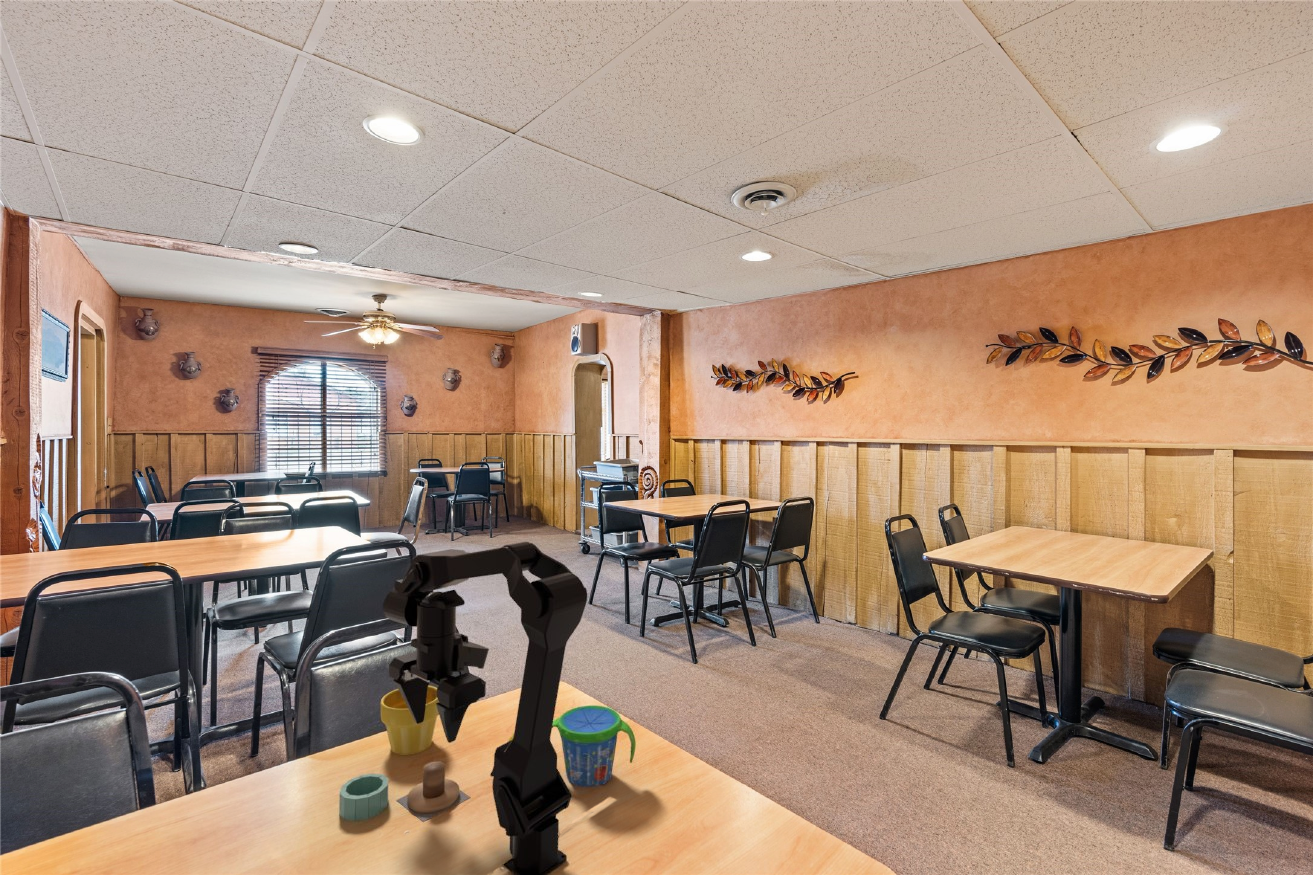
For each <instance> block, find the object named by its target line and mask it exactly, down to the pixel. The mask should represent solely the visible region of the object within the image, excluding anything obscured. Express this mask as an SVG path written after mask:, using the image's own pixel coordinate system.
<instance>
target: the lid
mask: <svg viewBox="0 0 1313 875" xmlns="http://www.w3.org/2000/svg"><path fill="white" fill-rule="evenodd" d="M459 790H460V786H459V784H458V783H457V782H456V781H454V780H452V779H450V778H449V779H448V778H446V764H445V762H443V761H439V760H437V761H430V762H428V763H426V764H425V765H424V766H423V768H422V782H421V783H419V784H417V785H415V786H414V787H412V789H411V788H410V791H409V792H408V794H407V795H408V797H407V805H408V808H409V809H410V810H411V811H413V812H416V813H420V814H431V813H436V812H440V811H443V810H445V809H447V808H449V807H451V806H452V805H453V804H454V803H455V802H456V801H457V800H458V798H459Z"/></svg>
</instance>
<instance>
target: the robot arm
mask: <svg viewBox="0 0 1313 875" xmlns="http://www.w3.org/2000/svg"><path fill="white" fill-rule="evenodd" d="M525 571H528V572H529V574H531V575H533V576H535V577H537V578H539V579H537V580H534V581H531V582H530V581H529V580H528V579H527V577H526V576H525V575H524V572H525ZM499 574H500V575H503V576H504V578H505V579H506V584H507V589H508V595H509V596H510V598H511V599H512V600H513V601H514V603H515V604H516V605H517V606H518V607H519V608H520V623H521V625H522V628H523V630H524V631H525V634H526V636H527V638H528V639H527V640H528V644H527V651H526V656H525V657H526V658H525V663H524V670H523V677H522V682H521V687H520V688H521V689H520V695H519V701H518V707H517V712H516V713H517V714H516V719H515V727H514V732H513V734H514V736H513V739H512V740H511V741H509V742H508V741H507V742H506V743H503V744H502V745H500V746H498V747H496V749H495V752H494V754H493V756H494V757H493V767H492V770H491V772H490V775H489V776H490V777H491V778H492V794H493V799H494V805H495V811H496V814H497V819H498V824H499V827H500V828H502V829H504V831H505V835H506V837H509V851H510V855H511V856H512V858H511V859H509V860H507V861H505V862H504V863H503V864H502V866H504V867H505V868H506V869H507V870H508V871H510V872H511V873H513V875H548V874H549V873H551V872H552V871H554V870H555V869H556V868H558V867H559V866H561V865H562V864H564V863H565V862H566V861H567V860H568V858H567V854H565V853H564V852H563V851H561V850H560V849H559V830H560V828H559V824H560V822H559V821H560V820H559V819H558V818H557V815H558V814H559V813H561V812H563V810H566V809H567V808H569V806H570V803H571V801H572V798H573V797H572V793H571V791H570V789H569V787H568V786H567V784H566V782H565V781H564V779H563V776H562V775H561V773H560V771H559V770H558V753H557V751H556V750H555V748H554V746H553V743H552V742H551V736H552V735H551V734H552V729H553V728H552V724H553V721H554V718H555V711H556V705H557V701H558V700H557V699H558V694H559V687H560V681H561V675H562V669H563V663H564V658H565V652H566V646H567V644H568V641H569V640H570V638H571V636H572V635H573V634H574V632H575V631H576V629H577V628H578V626H579V624H580V622H581V620H582V618H583V614H584V612H585V608H586V604H587V603H588V602H587V601H588V590H587V588H586V587H585V586H584V584H583V582H582V580H581V579H580V578H579V577H578V575H577V574H574V573H573V572H572V571H571V570H570V569H569V568H568V567H567V566H566V565H565V564H564V563H563V562H561V561H559V560H557V559H554V558H553V557H551V556H549V555H548V554H546V553H544V552H542V551H541V550H540V549H539V548H538V547H537V545H535V544H534V543H533V542H529V541H520V542H515V543H510V544H505V545H503V546H501V547H497V548H491V549H484V550H479V551H473V552H467V551H466V550H464V549H455V548H450V549H444V550H443V549H442V550H439V551H433V552H426V553H420V554H417V555H415V556H414V557H413V559H412V564H410V566H409V568H408V570H407V571H406V574H405V576H404V578H402V579H397V580H395V581H394V588H392V589H391V590H389V592H388V593H387V594H386V596H385V598H384V601H383V602H382V611H383V615H384V616H385V617H386V619H388V620H391V621H393V622H397V623H399V624H403V625H407V626H410V627H416V637H415V638H413V639H411V640H410V647H413V648H414V649H416V651H413V652H410V653H406V654H403V655H398V656H397V657H394V658H393V659H392V660H391V662H390V663H389V665H388V677H390V678H392V679H393V683H394V685H396V688H397V689H399V691H400V693H401V695H402V696H403V698H404V700H405V702H406V704H407V706H408V708H409V710H410V712H411V714H412V716H413V718H414V720H415V722H416V723H417V724H419V723H422V722H423V721H424V716H425V708H426V698H427V688H428V685H429V686H430V683H433V684H434V685H437V686H438V687H436V688H437V698H438V701H439V702H438V703H436V706H437V709H438V713H439V715H438V716H439V718H440V722H441V725H442V729H443V732H444V735H445V738H446V740H447V743H449V744H450V743H454V742H455V741H456V740H457V737H458V734H459V731H460V728H461V725H462V722H463V720H464V717H465V714H466V712H467V710H468V708H469V707H470V706H471V705H472V704H473V703H475V702H477V701H479V700H480V699H483V698H485V697H486V695H487V682H486V681H485V680H484V679H483V678H481V677H480V676H478V675H475V674H473V673H470V672H466V673H463V674H459V675H454V673H455V672H456V673H459V672H462V671H464V670H465V667H472V668H477V669H481V670H483V669H484V667H485V664H486V661H487V657H488V655H489V654H488V653H489V650H490V648H488V647H486V646H483V645H481V644H477V643H475V642H471V641H469V636H468V635H465V634H463V633H459V632H457V631H456V630H457V629H456V627H457V626H456V623H457V622H456V621H457V617H456V616H457V607H461V606H464V605H465V604H466V602H465V600H464V599H463V597H462V596H461V595H459V593H458V592H457V590H456V589H451V590H445V591H438V590H441V589H446V588H449V587H452V586H457V585H458V584H462V583H463V582H466V581H468V580H469V579H471V578H472V579H473V578H480V577H487V576H494V575H499Z"/></svg>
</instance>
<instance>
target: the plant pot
mask: <svg viewBox="0 0 1313 875" xmlns="http://www.w3.org/2000/svg"><path fill="white" fill-rule="evenodd" d="M437 688H438V687H435V686H432V685H430V684H429V685H428V688H427V698H426V708H425V716H424V721H423V722H422V723H419V724H417V723H416V722H415V720H414V718H413V716H412V714H411V712H410V710H409V708H408V706H407V704H406V702H405V700H404V698H403V696H402V695H401V693H400V691H399V689H398V688H396V689H394V690H392V691H390V692H388V693H387V694H385V695H384V696H383V697H382V698H381V700H380V719H381V722H382V723H383V724H384V725H385V728H386V733H387V737H388V741H389V745H390V750H391V752H393V754H396V755H402V756H405V755H406V756H407V755H414V754H419V753H421V752H424V751H426V750H427V749H428V748H429V747H430V746H431V745H432V742H433V739H434V738H433V737H434V732H435V727H436V723H437V718H438V716H439V713H438V709H437V706H436V703H438V702H439V701H438V698H437Z"/></svg>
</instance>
